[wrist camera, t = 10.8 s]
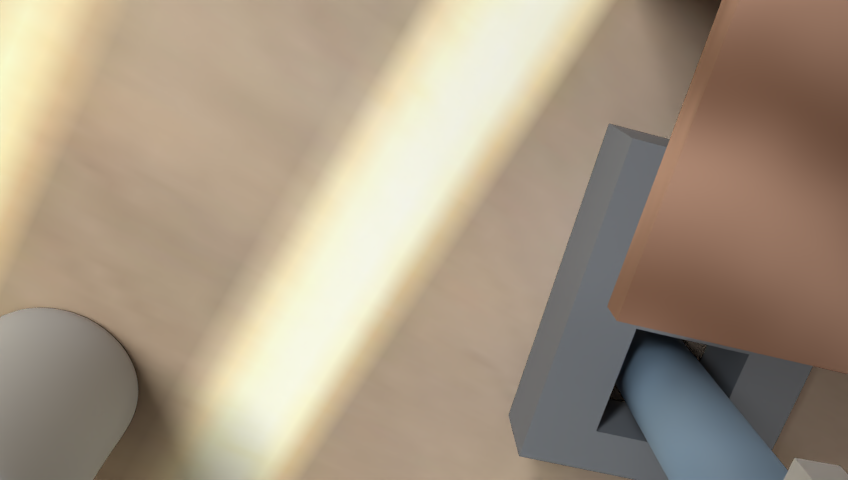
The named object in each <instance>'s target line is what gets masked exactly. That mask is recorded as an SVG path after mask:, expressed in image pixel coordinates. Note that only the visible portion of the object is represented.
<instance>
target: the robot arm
mask: <svg viewBox="0 0 848 480" xmlns="http://www.w3.org/2000/svg"><path fill="white" fill-rule="evenodd" d="M784 480H848V474H847V473H846V472H845V471H844V470H843V468H842V467H841V466H839V465H833V464H828V463H822V462H816V461H811V460H805V459H799V458H794V460H793V462H792V464H791V466H790V468H789V470H788V472H787V474H786V476H785V478H784Z"/></svg>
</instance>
